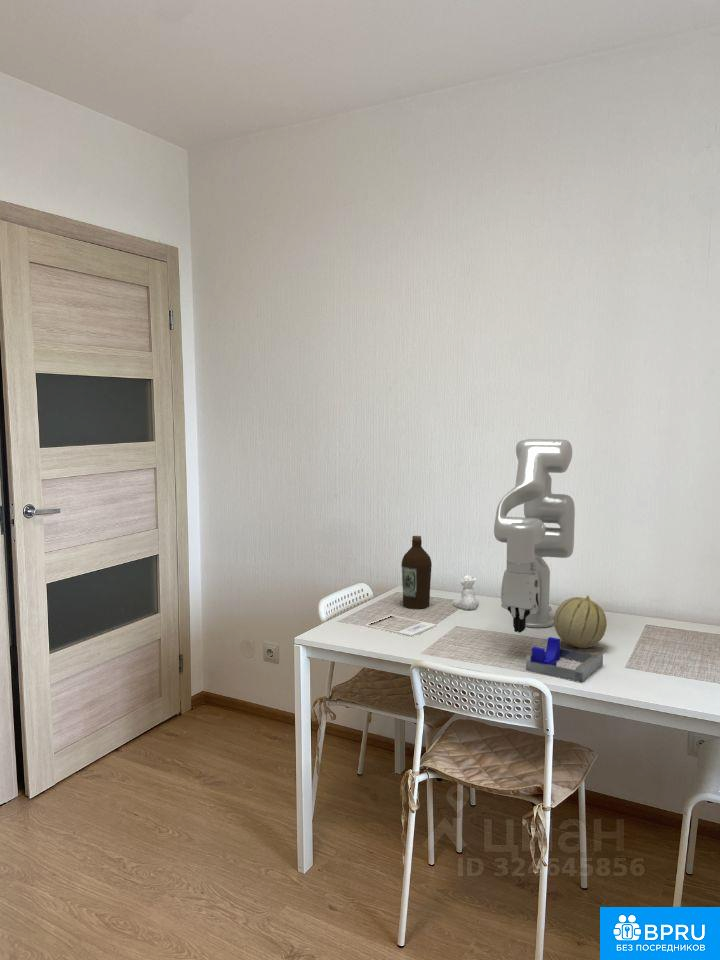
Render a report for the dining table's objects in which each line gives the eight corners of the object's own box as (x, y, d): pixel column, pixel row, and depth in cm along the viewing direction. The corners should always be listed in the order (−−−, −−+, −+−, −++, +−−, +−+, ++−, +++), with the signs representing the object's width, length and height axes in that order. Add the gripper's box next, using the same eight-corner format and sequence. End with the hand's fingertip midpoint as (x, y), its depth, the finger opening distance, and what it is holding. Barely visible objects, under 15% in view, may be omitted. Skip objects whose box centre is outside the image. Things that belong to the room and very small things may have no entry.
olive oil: (415, 600, 266) (416, 532, 264) (437, 606, 258) (438, 536, 256) (395, 605, 259) (395, 536, 257) (417, 611, 251) (417, 539, 249)
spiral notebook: (411, 634, 222) (364, 624, 233) (411, 638, 223) (364, 627, 234) (436, 623, 234) (391, 614, 245) (436, 627, 234) (391, 617, 245)
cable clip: (547, 673, 192) (547, 651, 191) (531, 669, 195) (531, 647, 194) (564, 661, 201) (565, 640, 201) (549, 657, 204) (550, 636, 204)
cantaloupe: (544, 647, 213) (545, 596, 212) (567, 635, 224) (568, 588, 223) (592, 658, 203) (594, 605, 202) (614, 646, 214) (615, 596, 213)
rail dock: (550, 654, 206) (550, 640, 206) (602, 665, 197) (603, 651, 197) (525, 670, 194) (526, 655, 193) (580, 682, 185) (581, 667, 184)
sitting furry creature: (478, 604, 261) (478, 571, 260) (484, 611, 252) (484, 576, 251) (452, 605, 260) (452, 572, 259) (457, 611, 252) (457, 577, 250)
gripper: (551, 568, 200) (550, 632, 202) (501, 560, 209) (501, 622, 212) (540, 574, 194) (538, 640, 197) (489, 566, 203) (489, 629, 206)
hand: (519, 630), depth 204 cm, fingers closed
